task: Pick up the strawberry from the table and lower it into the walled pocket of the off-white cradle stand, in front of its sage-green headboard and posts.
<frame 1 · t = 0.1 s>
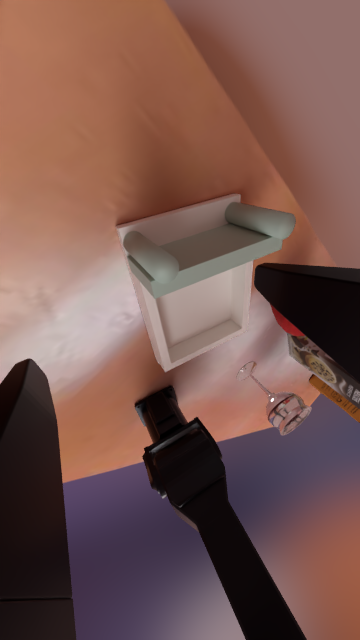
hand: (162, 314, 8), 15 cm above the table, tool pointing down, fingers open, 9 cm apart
cradle stand: (189, 288, 27), on the table
strawberry: (270, 298, 37), on the table
coffee box: (297, 335, 48), on the table
wineglass: (246, 370, 45), on the table
coffee package: (323, 367, 68), on the table
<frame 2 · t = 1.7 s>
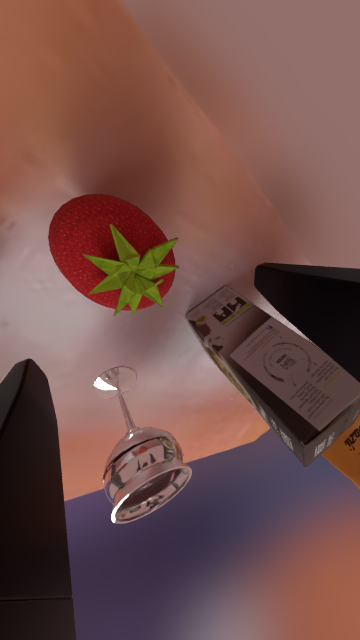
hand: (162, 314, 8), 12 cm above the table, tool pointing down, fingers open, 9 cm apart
strawberry: (100, 235, 17), on the table
coffee box: (214, 322, 29), on the table
wineglass: (115, 382, 26), on the table
coffee package: (283, 373, 48), on the table
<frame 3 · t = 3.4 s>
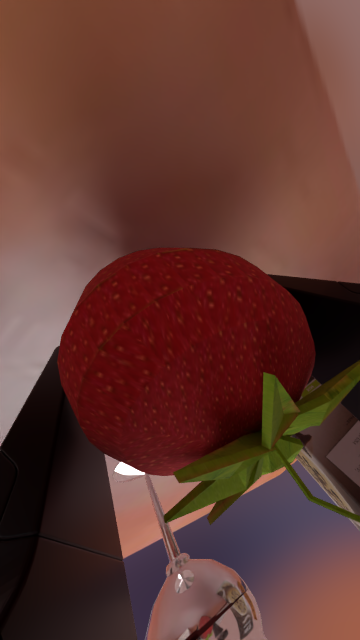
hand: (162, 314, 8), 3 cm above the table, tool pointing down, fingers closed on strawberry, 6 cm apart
strawberry: (138, 285, 10), on the table, touching gripper
coffee box: (267, 372, 22), on the table
wineglass: (141, 460, 19), on the table
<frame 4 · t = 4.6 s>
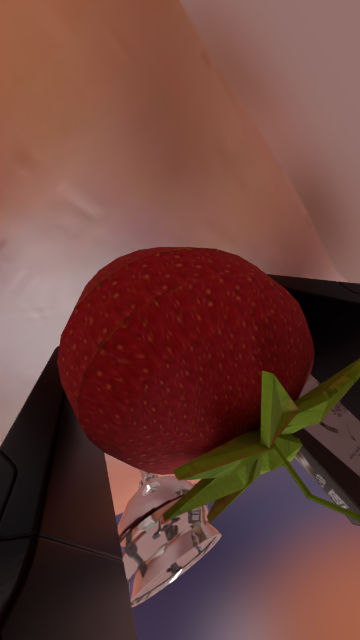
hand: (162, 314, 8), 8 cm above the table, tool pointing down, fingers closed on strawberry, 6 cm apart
strawberry: (138, 285, 10), point 5 cm above the table, touching gripper
coffee box: (234, 342, 26), on the table
wineglass: (124, 412, 23), on the table
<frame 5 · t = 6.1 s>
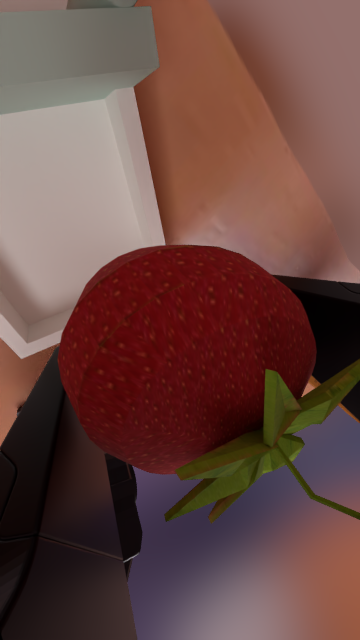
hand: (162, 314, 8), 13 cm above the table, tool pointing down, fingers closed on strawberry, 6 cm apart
cradle stand: (52, 211, 16), on the table
strawberry: (138, 284, 10), point 10 cm above the table, touching gripper
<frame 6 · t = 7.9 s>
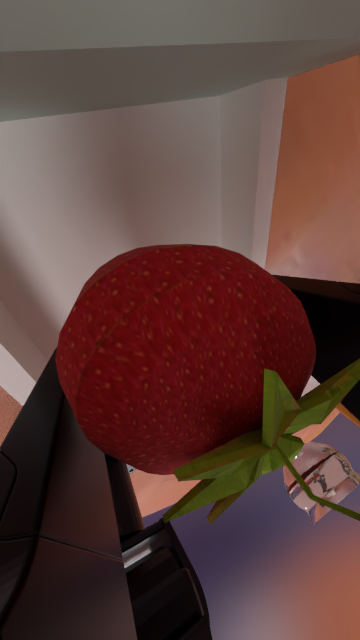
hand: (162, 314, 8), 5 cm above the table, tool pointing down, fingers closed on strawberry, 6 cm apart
cradle stand: (120, 248, 11), on the table
strawberry: (137, 284, 10), point 2 cm above the table, touching gripper
wineglass: (249, 399, 30), on the table
coffee package: (349, 383, 52), on the table
when the fingers open (5 cm above the table, at t = 8.7 s): strawberry drops 1 cm, resting on cradle stand.
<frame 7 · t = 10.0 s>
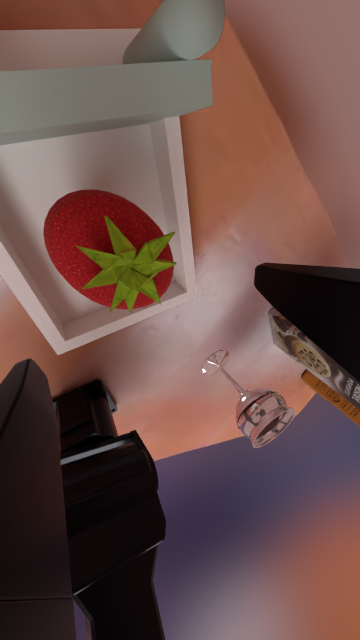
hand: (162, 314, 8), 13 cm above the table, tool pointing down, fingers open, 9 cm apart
cradle stand: (92, 220, 17), on the table
strawberry: (99, 237, 17), point 1 cm above the table, touching cradle stand
coffee box: (283, 318, 38), on the table
wineglass: (215, 362, 35), on the table
coffee package: (318, 362, 57), on the table
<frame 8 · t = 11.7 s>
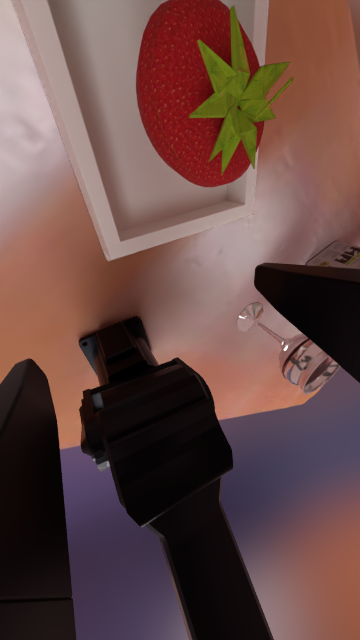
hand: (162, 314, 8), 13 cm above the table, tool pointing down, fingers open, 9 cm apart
cradle stand: (152, 105, 15), on the table
strawberry: (159, 124, 15), point 1 cm above the table, touching cradle stand
coffee box: (317, 274, 36), on the table
wineglass: (249, 316, 34), on the table
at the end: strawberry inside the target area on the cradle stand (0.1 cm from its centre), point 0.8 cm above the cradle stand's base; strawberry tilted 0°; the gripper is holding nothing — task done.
